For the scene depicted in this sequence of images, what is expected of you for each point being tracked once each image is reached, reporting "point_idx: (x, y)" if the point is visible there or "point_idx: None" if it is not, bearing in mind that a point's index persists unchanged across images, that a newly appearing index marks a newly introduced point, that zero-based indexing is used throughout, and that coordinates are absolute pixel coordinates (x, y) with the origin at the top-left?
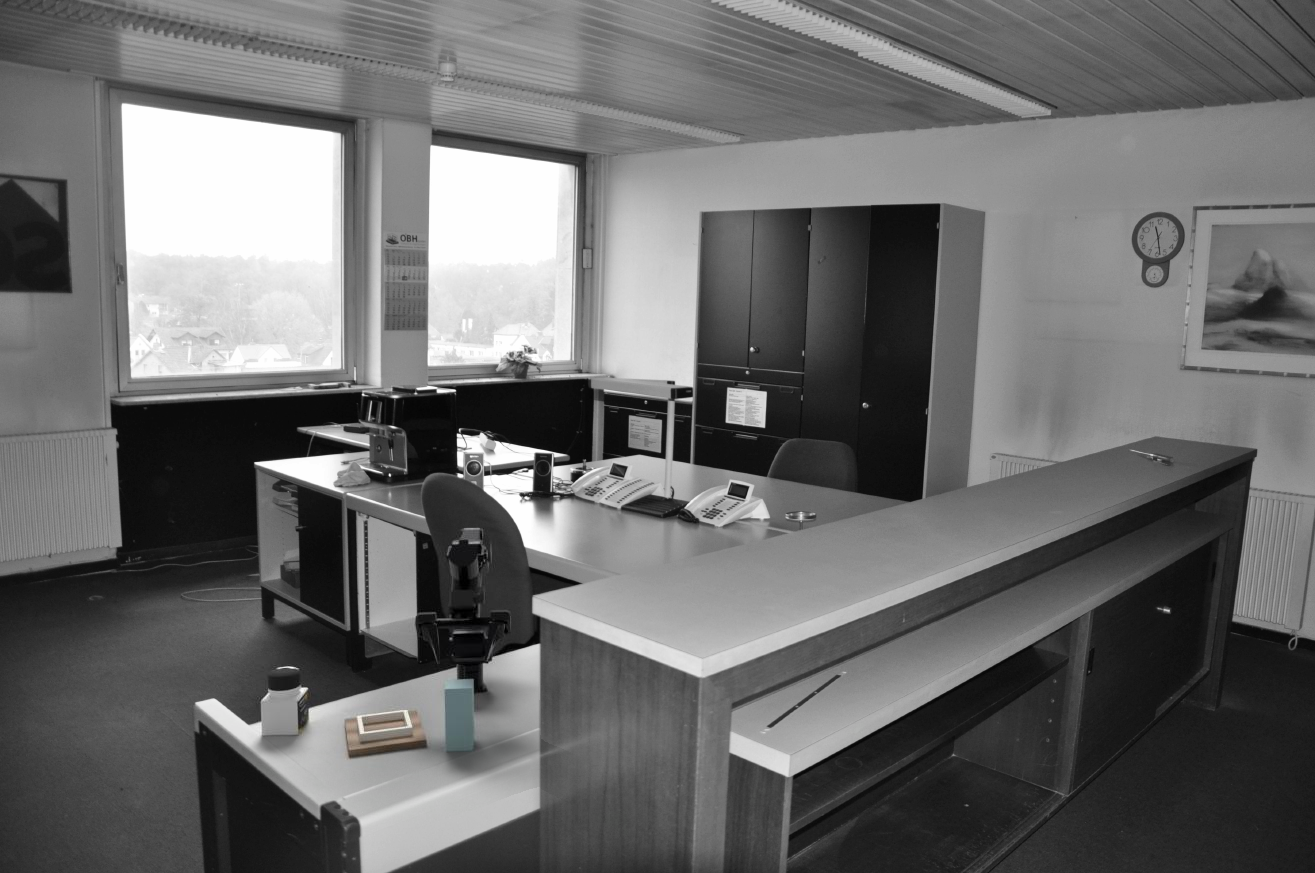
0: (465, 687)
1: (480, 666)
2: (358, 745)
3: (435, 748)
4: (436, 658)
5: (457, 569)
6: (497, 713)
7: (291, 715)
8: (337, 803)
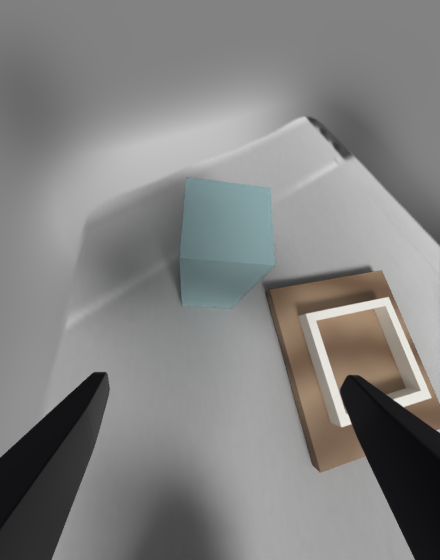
0: (207, 186)
1: None
2: (374, 285)
3: None
4: (372, 385)
5: None
6: (119, 461)
7: None
8: (339, 152)
